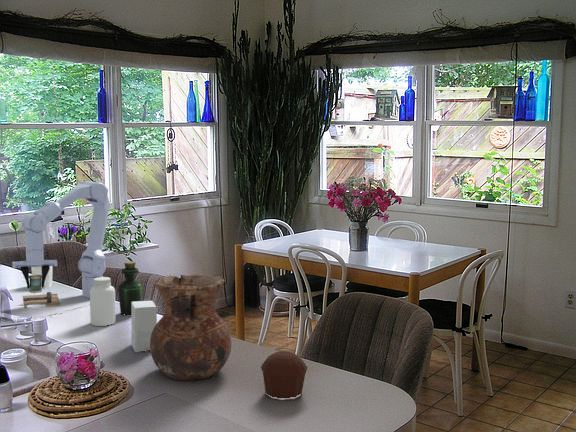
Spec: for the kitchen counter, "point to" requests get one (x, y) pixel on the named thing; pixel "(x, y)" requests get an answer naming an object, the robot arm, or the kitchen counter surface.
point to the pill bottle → (102, 302)
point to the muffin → (283, 374)
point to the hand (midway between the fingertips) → (35, 287)
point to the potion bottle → (129, 288)
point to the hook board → (42, 299)
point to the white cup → (39, 272)
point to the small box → (142, 324)
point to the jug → (190, 328)
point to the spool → (35, 283)
